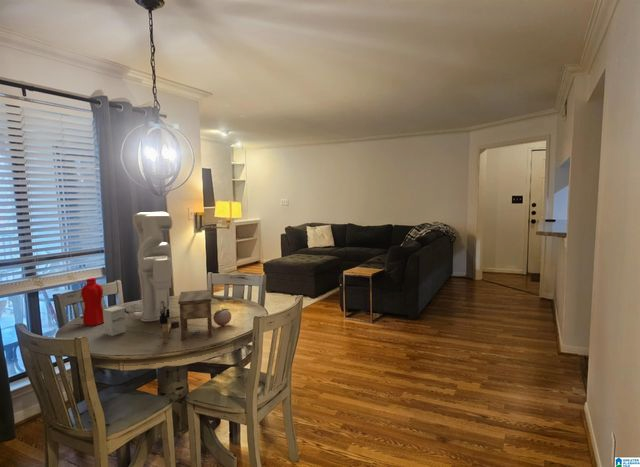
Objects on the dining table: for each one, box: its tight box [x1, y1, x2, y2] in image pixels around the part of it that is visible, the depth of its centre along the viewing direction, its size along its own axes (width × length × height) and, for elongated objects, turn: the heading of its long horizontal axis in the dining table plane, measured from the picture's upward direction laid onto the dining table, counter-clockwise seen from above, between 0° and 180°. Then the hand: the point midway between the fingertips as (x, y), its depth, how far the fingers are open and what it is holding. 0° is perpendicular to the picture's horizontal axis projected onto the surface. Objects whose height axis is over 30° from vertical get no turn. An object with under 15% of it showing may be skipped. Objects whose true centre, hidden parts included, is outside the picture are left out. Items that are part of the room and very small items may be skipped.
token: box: [190, 329, 201, 336], centre depth 197 cm, size 4×4×1 cm
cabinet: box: [177, 289, 213, 342], centre depth 197 cm, size 15×19×19 cm
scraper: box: [160, 318, 180, 344], centre depth 195 cm, size 23×9×11 cm, turn 16°
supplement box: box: [103, 305, 127, 337], centre depth 199 cm, size 7×7×13 cm
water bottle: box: [80, 277, 104, 327], centre depth 213 cm, size 9×11×25 cm
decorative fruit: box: [212, 307, 232, 327], centre depth 206 cm, size 9×8×10 cm
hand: (164, 320), depth 185 cm, fingers open, 9 cm apart
